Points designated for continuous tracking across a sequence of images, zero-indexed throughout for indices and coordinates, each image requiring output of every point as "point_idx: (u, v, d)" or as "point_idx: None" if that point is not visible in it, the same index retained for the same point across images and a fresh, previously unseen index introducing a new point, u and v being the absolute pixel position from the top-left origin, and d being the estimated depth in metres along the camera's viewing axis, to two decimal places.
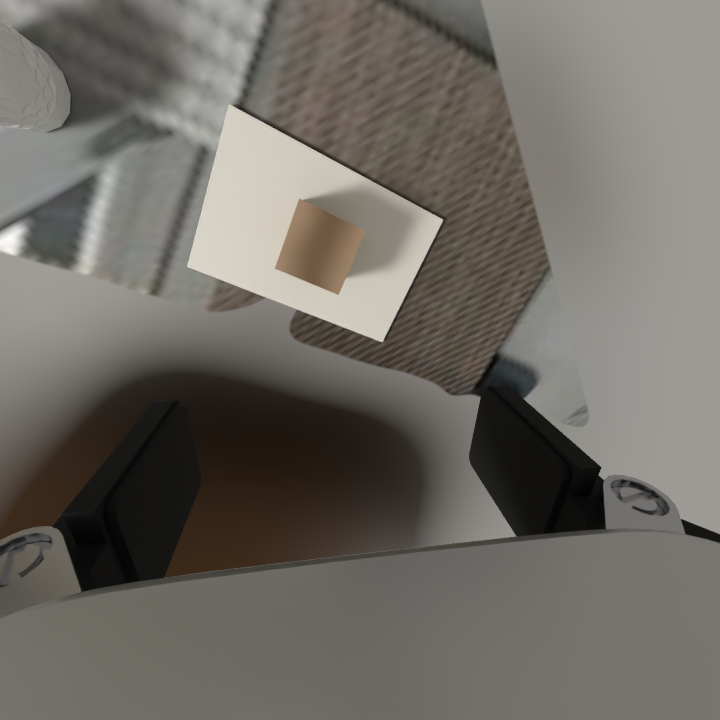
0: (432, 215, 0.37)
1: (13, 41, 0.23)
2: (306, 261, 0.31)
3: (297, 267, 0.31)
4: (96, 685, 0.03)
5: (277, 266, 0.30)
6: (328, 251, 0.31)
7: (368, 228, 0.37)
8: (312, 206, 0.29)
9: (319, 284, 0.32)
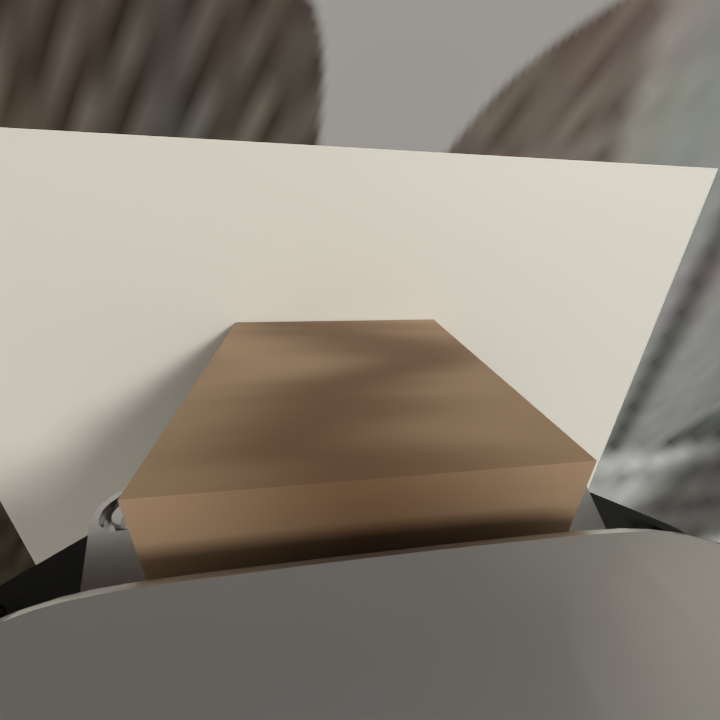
0: None
1: None
2: None
3: (468, 518, 0.05)
4: (96, 685, 0.03)
5: (581, 475, 0.05)
6: None
7: None
8: None
9: (296, 498, 0.04)
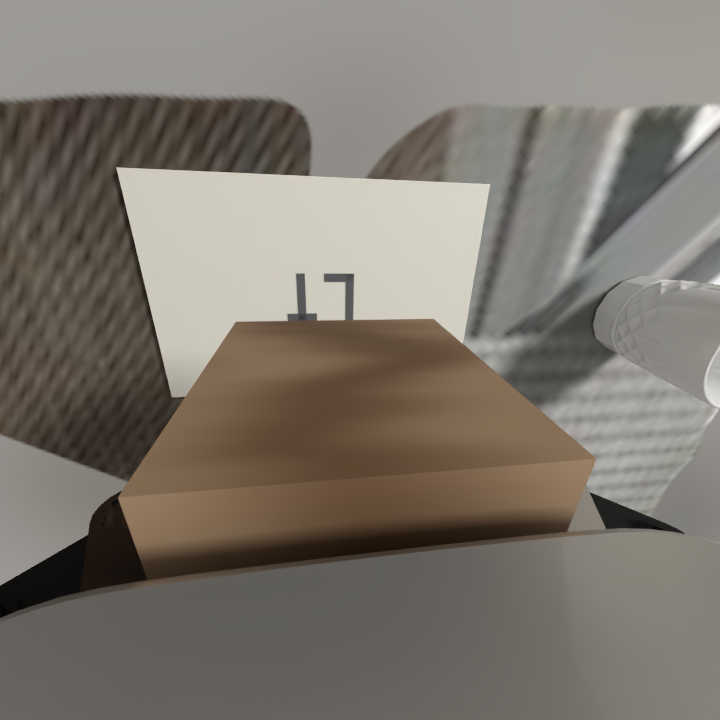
0: None
1: (650, 367, 0.25)
2: None
3: (467, 516, 0.05)
4: (96, 685, 0.03)
5: (580, 474, 0.05)
6: None
7: None
8: None
9: (296, 496, 0.04)
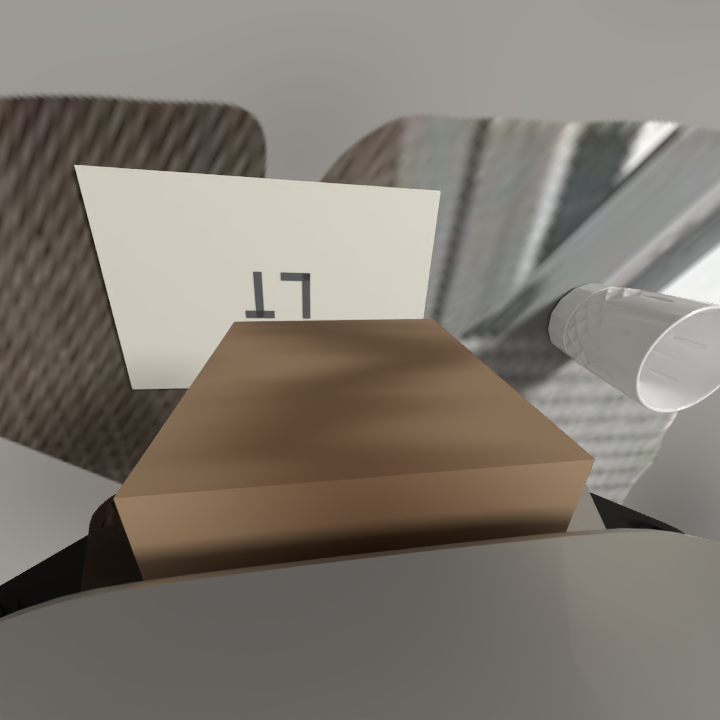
0: (150, 387, 0.27)
1: (594, 370, 0.26)
2: None
3: (466, 517, 0.05)
4: (95, 685, 0.03)
5: (579, 474, 0.05)
6: None
7: None
8: None
9: (293, 497, 0.04)
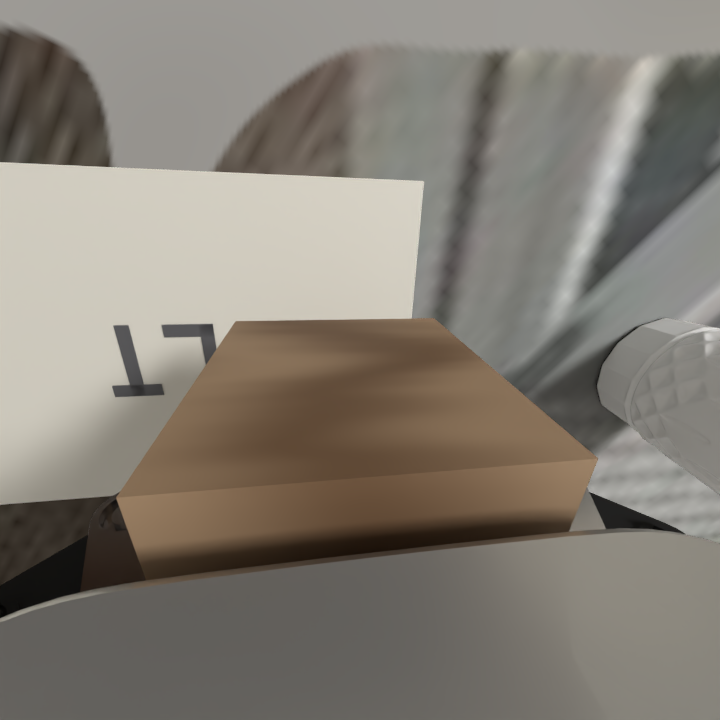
0: None
1: (689, 470, 0.16)
2: None
3: (469, 516, 0.05)
4: (96, 685, 0.03)
5: (582, 474, 0.05)
6: None
7: (81, 430, 0.17)
8: None
9: (296, 497, 0.04)
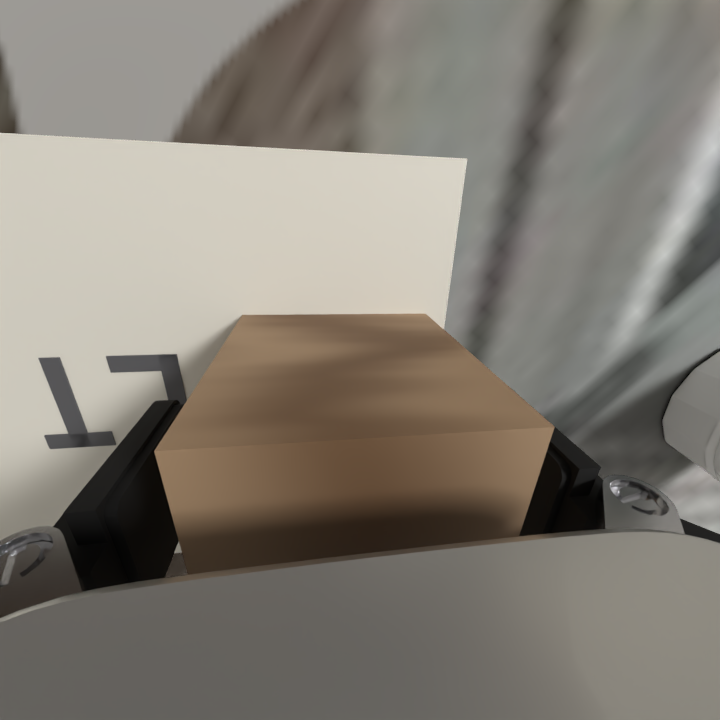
0: None
1: None
2: (407, 512, 0.06)
3: (445, 476, 0.06)
4: (96, 685, 0.03)
5: (542, 440, 0.06)
6: None
7: (8, 491, 0.13)
8: None
9: (301, 454, 0.05)
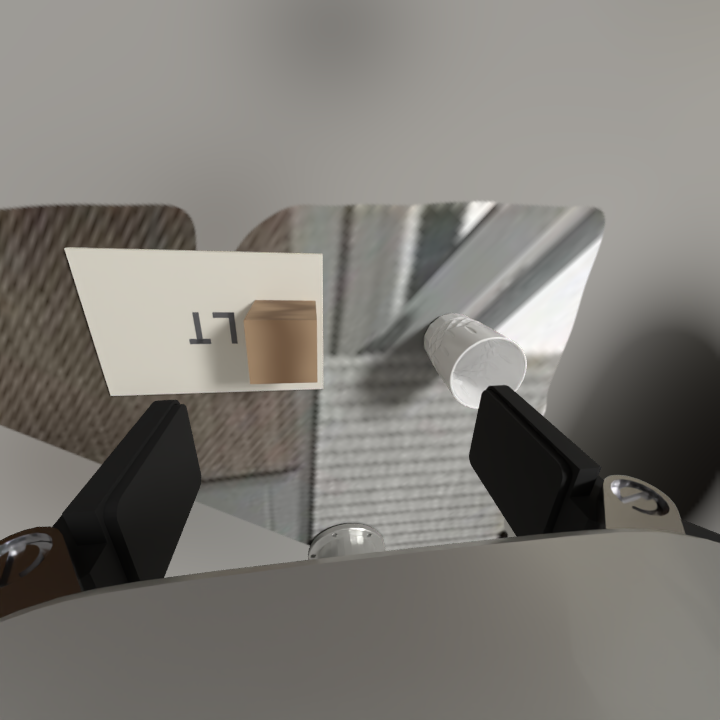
0: (123, 394, 0.38)
1: None
2: (290, 338, 0.30)
3: (296, 329, 0.30)
4: (96, 685, 0.03)
5: (315, 323, 0.30)
6: (274, 354, 0.31)
7: (173, 359, 0.37)
8: (304, 381, 0.32)
9: (268, 322, 0.29)
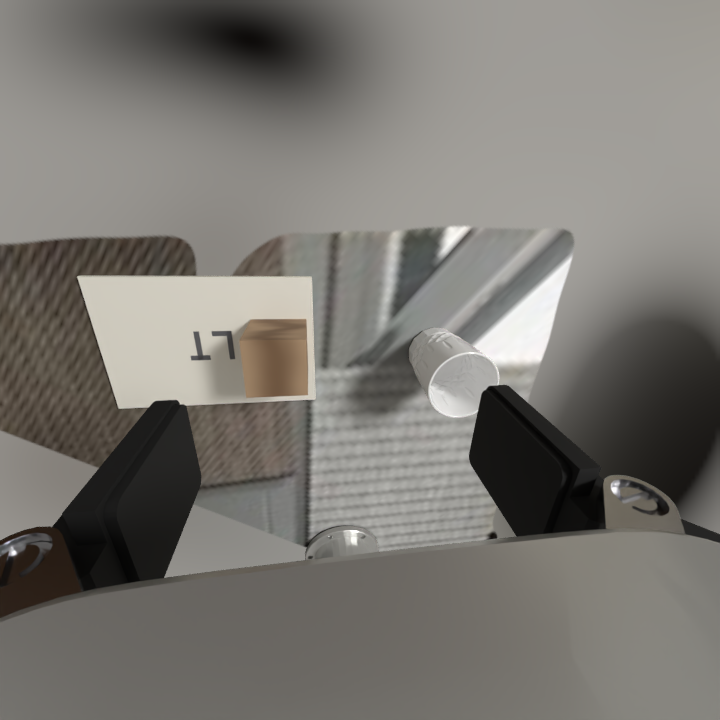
0: (130, 407, 0.41)
1: None
2: (281, 355, 0.33)
3: (287, 348, 0.33)
4: (96, 685, 0.03)
5: (304, 342, 0.33)
6: (267, 370, 0.34)
7: (176, 374, 0.40)
8: (295, 394, 0.35)
9: (261, 342, 0.33)
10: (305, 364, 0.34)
